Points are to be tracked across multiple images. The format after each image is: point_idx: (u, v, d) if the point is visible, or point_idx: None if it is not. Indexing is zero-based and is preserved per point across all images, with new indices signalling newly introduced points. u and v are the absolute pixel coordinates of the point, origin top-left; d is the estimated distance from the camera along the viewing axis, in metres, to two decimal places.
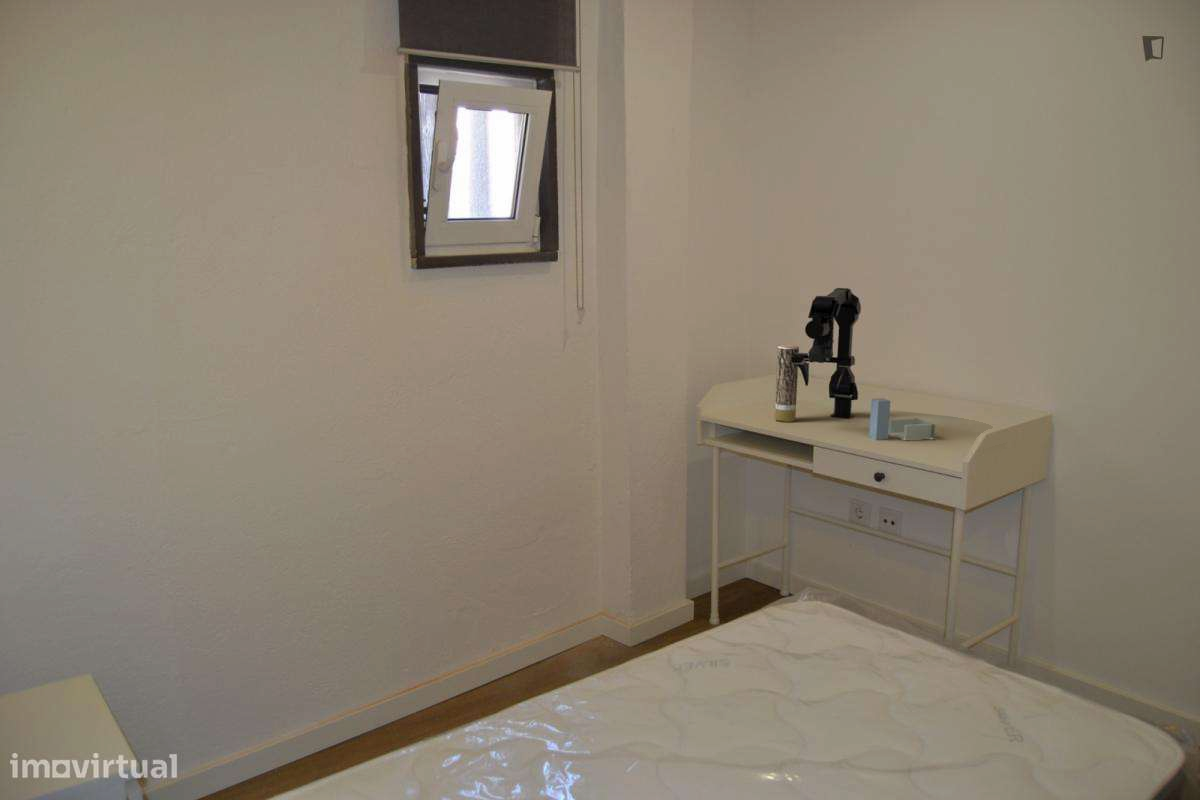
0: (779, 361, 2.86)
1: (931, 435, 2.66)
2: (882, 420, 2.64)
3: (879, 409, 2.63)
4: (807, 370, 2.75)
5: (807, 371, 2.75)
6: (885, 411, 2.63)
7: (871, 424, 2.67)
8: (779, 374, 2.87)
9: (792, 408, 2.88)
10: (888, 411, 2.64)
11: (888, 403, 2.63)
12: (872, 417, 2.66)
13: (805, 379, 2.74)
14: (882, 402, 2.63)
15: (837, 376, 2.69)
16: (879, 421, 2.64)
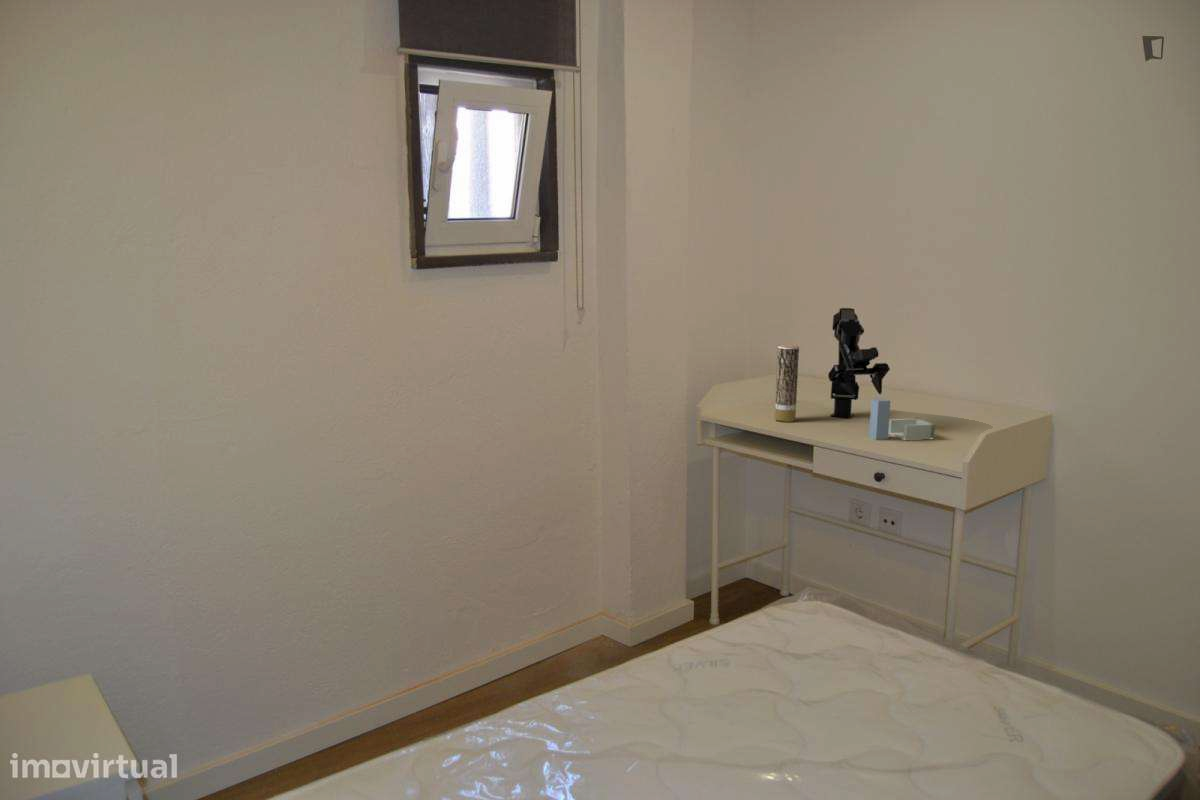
0: (779, 361, 2.86)
1: (931, 435, 2.66)
2: (882, 420, 2.64)
3: (879, 409, 2.63)
4: None
5: None
6: (885, 411, 2.63)
7: (871, 424, 2.67)
8: (779, 374, 2.87)
9: (792, 408, 2.88)
10: (888, 411, 2.64)
11: (888, 403, 2.63)
12: (872, 417, 2.66)
13: (852, 387, 2.71)
14: (882, 402, 2.63)
15: (879, 381, 2.74)
16: (879, 421, 2.64)
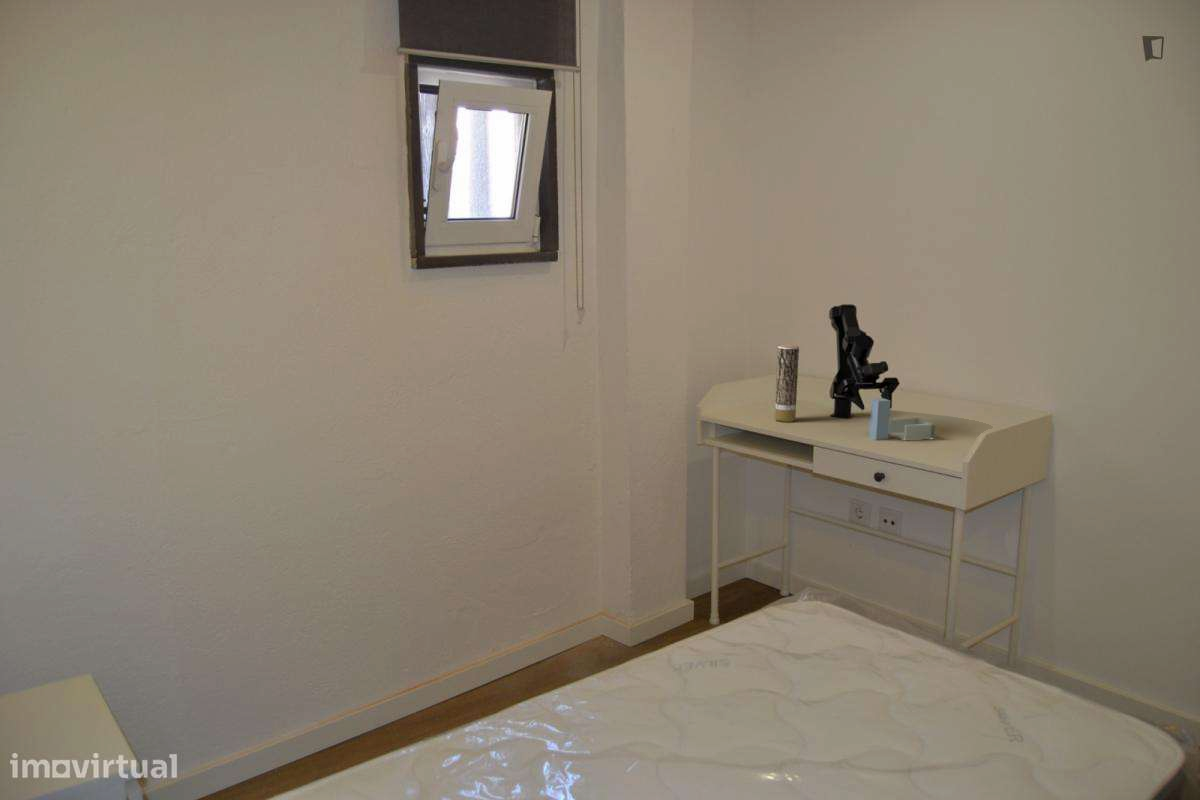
0: (779, 361, 2.86)
1: (931, 435, 2.66)
2: (882, 420, 2.64)
3: (879, 409, 2.63)
4: None
5: None
6: (885, 411, 2.63)
7: (871, 424, 2.67)
8: (779, 374, 2.87)
9: (792, 408, 2.88)
10: (888, 411, 2.64)
11: (888, 403, 2.63)
12: (872, 417, 2.66)
13: (861, 402, 2.66)
14: (882, 402, 2.63)
15: (889, 395, 2.69)
16: (879, 421, 2.64)
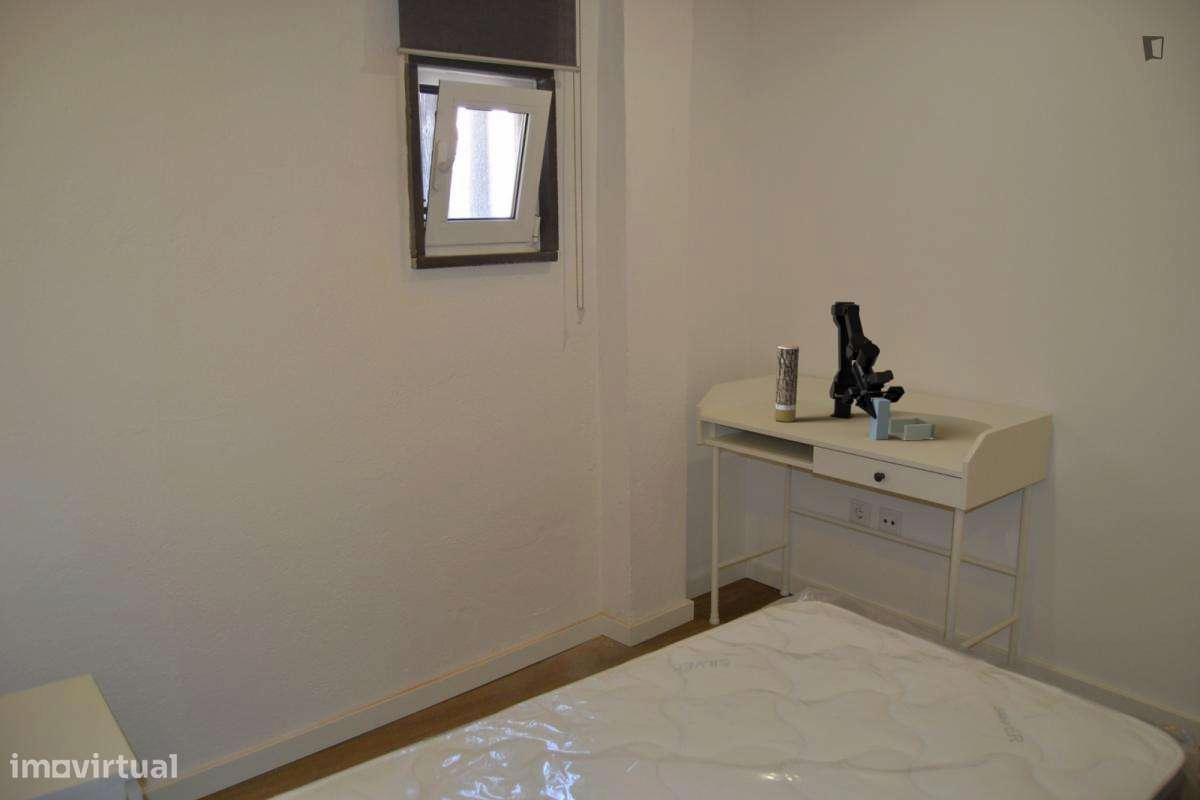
0: (779, 361, 2.86)
1: (931, 435, 2.66)
2: (882, 420, 2.64)
3: (879, 409, 2.63)
4: None
5: None
6: (885, 411, 2.63)
7: (871, 424, 2.67)
8: (779, 374, 2.87)
9: (792, 408, 2.88)
10: (888, 411, 2.64)
11: (888, 403, 2.63)
12: (872, 417, 2.66)
13: (874, 411, 2.64)
14: (882, 402, 2.63)
15: None
16: (880, 421, 2.64)
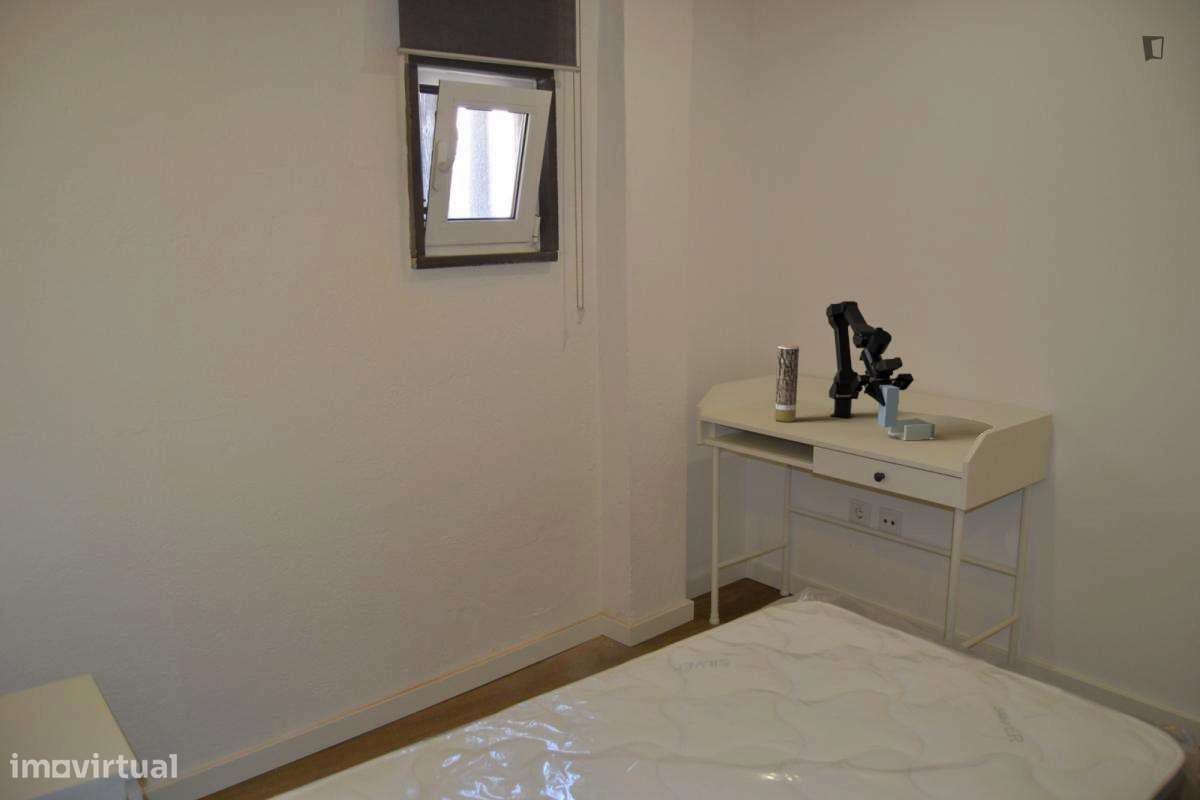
0: (779, 361, 2.86)
1: (931, 435, 2.66)
2: (891, 407, 2.64)
3: (888, 396, 2.63)
4: None
5: None
6: (894, 398, 2.63)
7: (880, 411, 2.67)
8: (779, 374, 2.87)
9: (792, 408, 2.88)
10: (897, 398, 2.64)
11: (897, 390, 2.63)
12: None
13: (882, 398, 2.64)
14: (891, 389, 2.63)
15: None
16: (888, 408, 2.64)
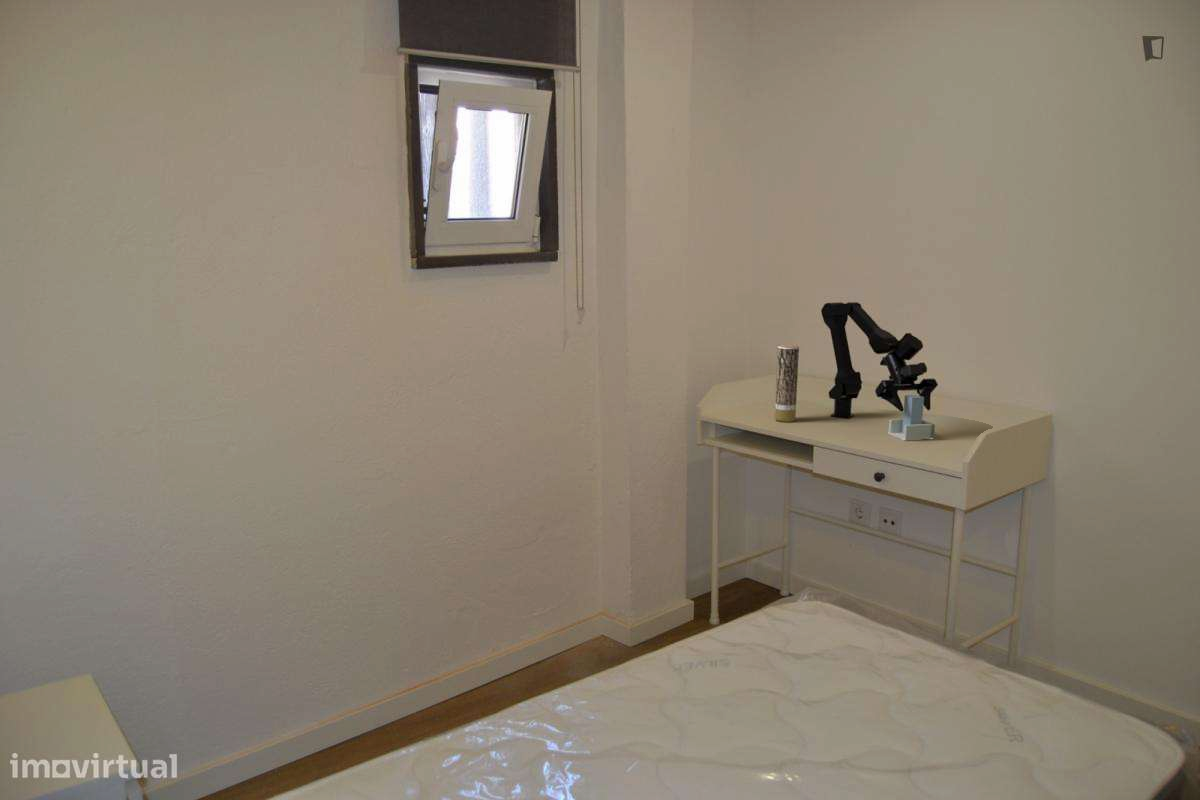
0: (779, 361, 2.86)
1: (931, 435, 2.66)
2: (916, 416, 2.66)
3: (913, 406, 2.65)
4: None
5: None
6: (919, 408, 2.66)
7: (904, 421, 2.69)
8: (779, 374, 2.87)
9: (792, 408, 2.88)
10: (922, 408, 2.66)
11: (922, 400, 2.66)
12: (905, 413, 2.68)
13: (900, 403, 2.66)
14: (916, 399, 2.65)
15: (928, 397, 2.69)
16: (913, 418, 2.66)
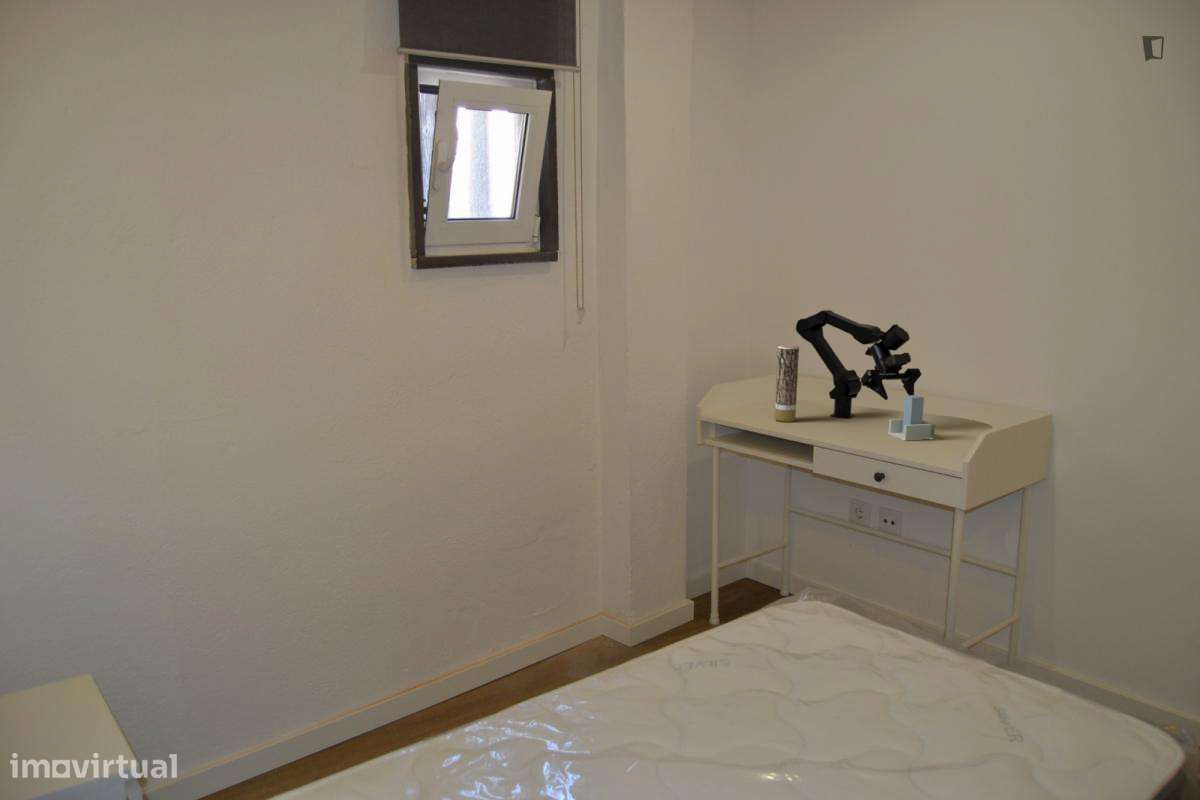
0: (779, 361, 2.86)
1: (931, 435, 2.66)
2: (916, 416, 2.66)
3: (913, 406, 2.65)
4: None
5: None
6: (919, 408, 2.66)
7: (904, 421, 2.69)
8: (779, 374, 2.87)
9: (792, 408, 2.88)
10: (922, 408, 2.66)
11: (922, 400, 2.66)
12: (905, 413, 2.68)
13: (885, 392, 2.74)
14: (916, 399, 2.65)
15: (912, 386, 2.77)
16: (913, 418, 2.66)
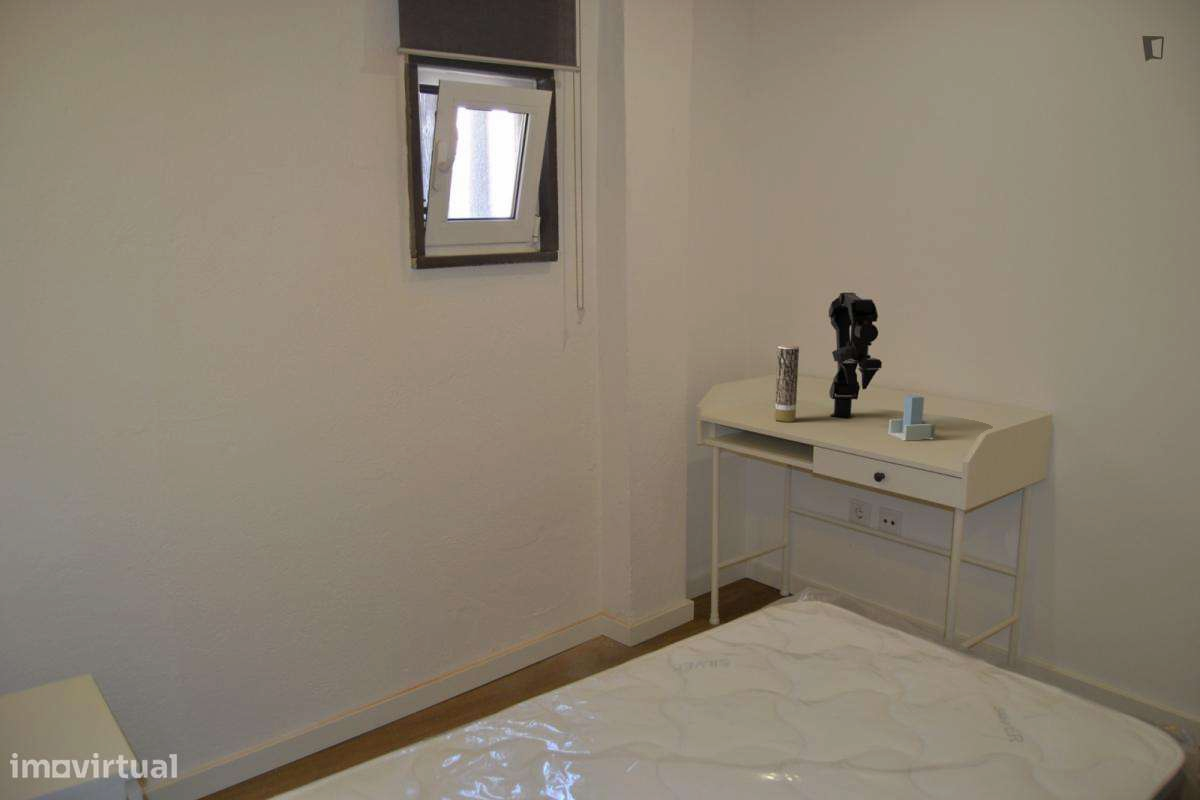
0: (779, 361, 2.86)
1: (931, 435, 2.66)
2: (916, 416, 2.66)
3: (913, 406, 2.65)
4: (852, 369, 2.85)
5: (851, 370, 2.85)
6: (919, 408, 2.66)
7: (904, 421, 2.69)
8: (779, 374, 2.87)
9: (792, 408, 2.88)
10: (922, 408, 2.66)
11: (922, 400, 2.66)
12: (905, 413, 2.68)
13: (846, 378, 2.85)
14: (916, 399, 2.65)
15: (862, 378, 2.75)
16: (913, 418, 2.66)
